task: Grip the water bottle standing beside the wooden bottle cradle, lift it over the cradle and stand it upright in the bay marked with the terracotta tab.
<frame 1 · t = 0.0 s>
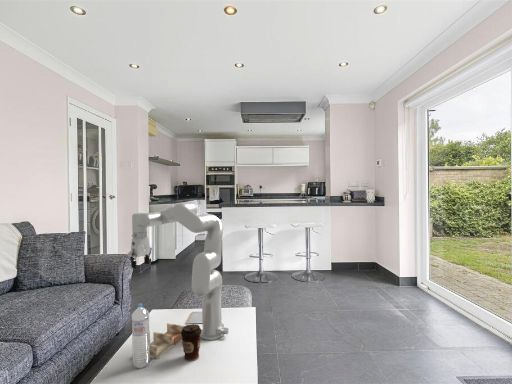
hand: (140, 265, 161), 31 cm above the table, tool pointing down, fingers open, 9 cm apart
water bottle: (141, 364, 120), on the table
coffee cup: (191, 358, 123), on the table
wooden bottle cradle: (162, 345, 135), on the table
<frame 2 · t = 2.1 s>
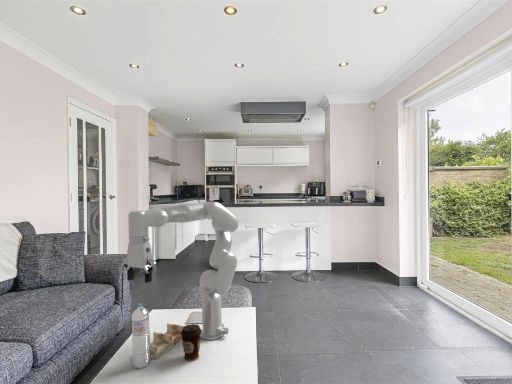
hand: (139, 280, 121), 34 cm above the table, tool pointing down, fingers open, 9 cm apart
nothing on the table moved.
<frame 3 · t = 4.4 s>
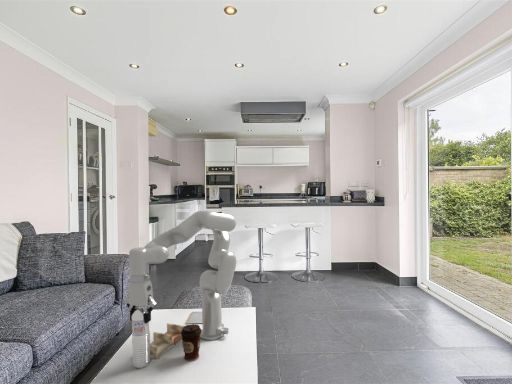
hand: (140, 320, 120), 18 cm above the table, tool pointing down, fingers closed on water bottle, 6 cm apart
water bottle: (141, 364, 119), on the table, touching gripper
everything else where it was.
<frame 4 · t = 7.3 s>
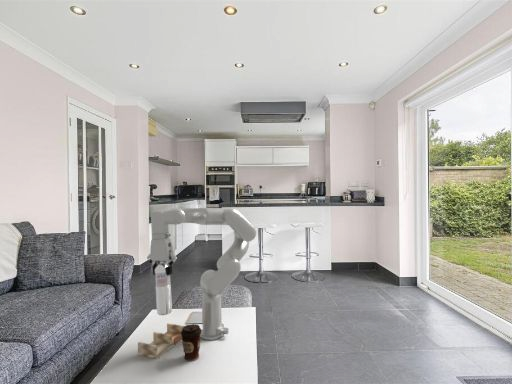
hand: (162, 273, 135), 33 cm above the table, tool pointing down, fingers closed on water bottle, 6 cm apart
water bottle: (164, 313, 135), point 15 cm above the table, touching gripper
everything else where it was.
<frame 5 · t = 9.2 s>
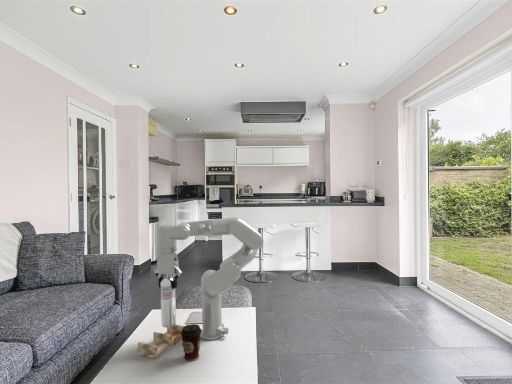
hand: (167, 287, 139), 26 cm above the table, tool pointing down, fingers closed on water bottle, 6 cm apart
water bottle: (168, 325, 139), point 7 cm above the table, touching gripper
everything else where it was.
when the fingers open (21 cm above the table, at t = 10.6 s): water bottle drops 1 cm, resting on wooden bottle cradle.
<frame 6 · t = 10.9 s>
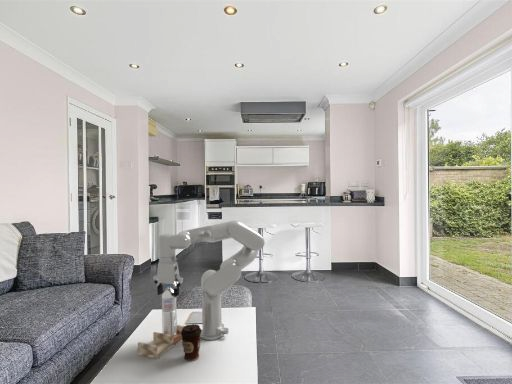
hand: (168, 294, 139), 22 cm above the table, tool pointing down, fingers open, 9 cm apart
water bottle: (169, 337, 139), point 1 cm above the table, touching wooden bottle cradle
everything else where it was.
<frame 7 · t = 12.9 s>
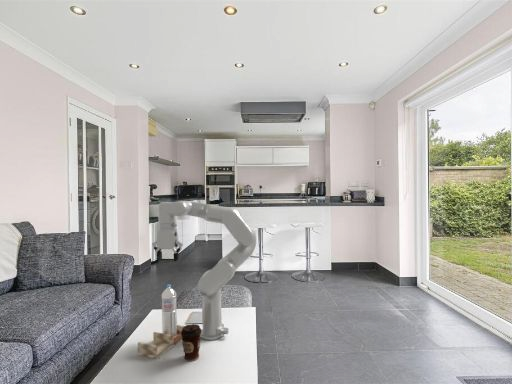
hand: (167, 260, 145), 37 cm above the table, tool pointing down, fingers open, 9 cm apart
nothing on the table moved.
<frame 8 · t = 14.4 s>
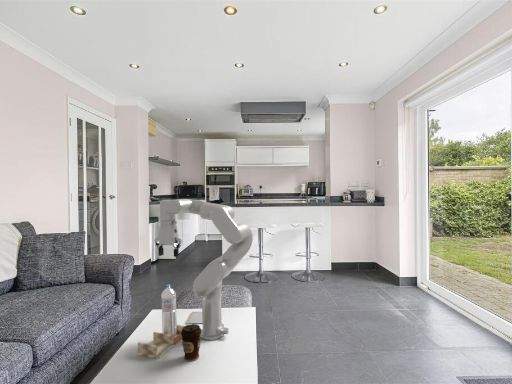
hand: (168, 255, 151), 38 cm above the table, tool pointing down, fingers open, 9 cm apart
nothing on the table moved.
at the end: water bottle 0.1 cm from the target spot on the wooden bottle cradle, point 1.3 cm above the wooden bottle cradle's base; water bottle tilted 1°; the gripper is holding nothing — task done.
